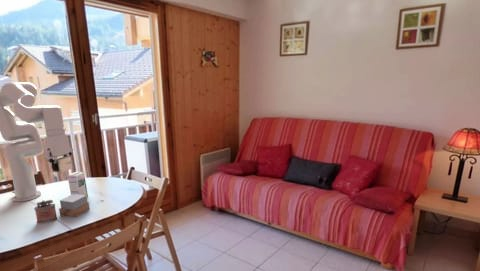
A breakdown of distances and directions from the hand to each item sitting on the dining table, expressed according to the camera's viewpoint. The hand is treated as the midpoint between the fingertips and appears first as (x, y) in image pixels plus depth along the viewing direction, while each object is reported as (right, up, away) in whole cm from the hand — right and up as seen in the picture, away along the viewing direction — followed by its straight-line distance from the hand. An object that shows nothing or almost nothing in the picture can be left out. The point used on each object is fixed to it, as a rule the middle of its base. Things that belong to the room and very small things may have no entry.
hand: (62, 168), depth 137 cm
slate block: (+5, -19, +2) cm, 19 cm away
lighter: (-4, -24, -5) cm, 25 cm away
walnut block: (+5, -23, +3) cm, 23 cm away
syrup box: (-2, -19, +19) cm, 27 cm away
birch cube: (0, -1, 0) cm, 1 cm away
